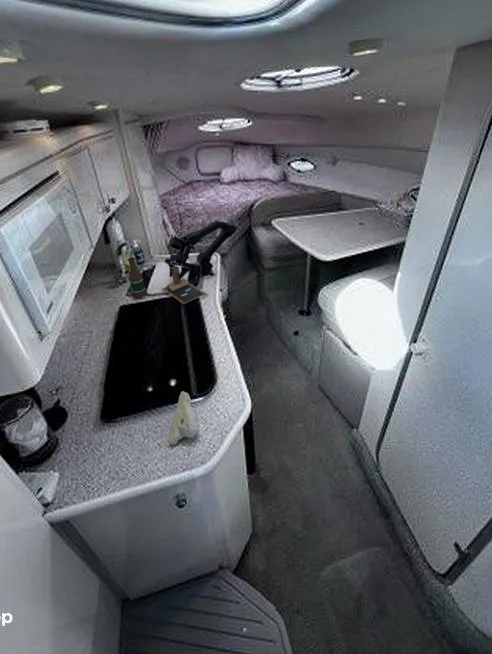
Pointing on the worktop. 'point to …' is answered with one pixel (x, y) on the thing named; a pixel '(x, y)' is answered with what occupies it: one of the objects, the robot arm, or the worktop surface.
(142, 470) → the worktop surface
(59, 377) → the worktop surface
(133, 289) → the beer bottle
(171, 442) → the cream lumpy piece
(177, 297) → the chalkboard
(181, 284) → the eraser
